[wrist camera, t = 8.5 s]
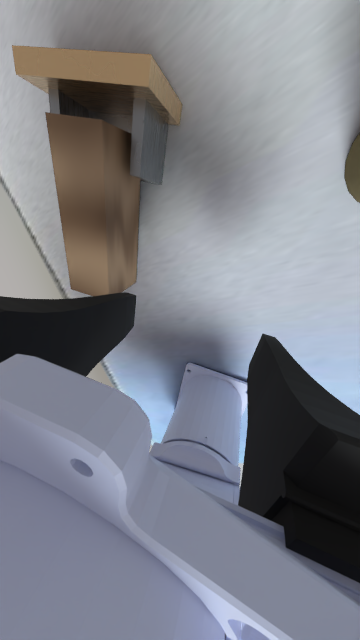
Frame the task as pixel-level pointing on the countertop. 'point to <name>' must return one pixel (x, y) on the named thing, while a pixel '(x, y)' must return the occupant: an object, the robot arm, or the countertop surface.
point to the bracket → (108, 96)
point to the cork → (353, 169)
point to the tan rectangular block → (96, 202)
